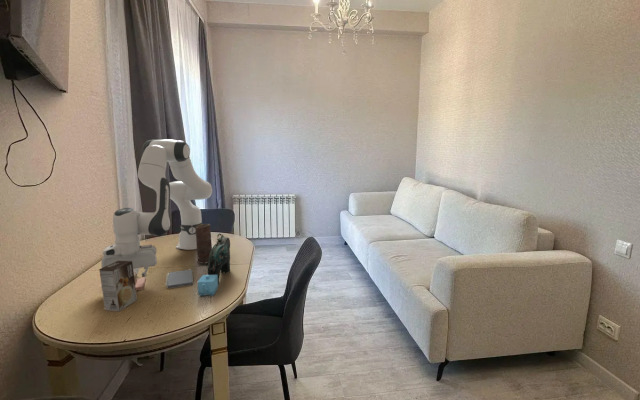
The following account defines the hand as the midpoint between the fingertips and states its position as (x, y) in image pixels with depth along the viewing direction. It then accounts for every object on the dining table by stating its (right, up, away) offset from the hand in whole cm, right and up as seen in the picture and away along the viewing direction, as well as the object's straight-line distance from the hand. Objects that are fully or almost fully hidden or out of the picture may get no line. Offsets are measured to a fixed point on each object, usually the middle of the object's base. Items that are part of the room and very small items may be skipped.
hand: (131, 278), depth 140 cm
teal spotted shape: (+35, -2, +9) cm, 37 cm away
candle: (+22, +1, +28) cm, 35 cm away
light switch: (+1, -3, 0) cm, 4 cm away
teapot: (+35, -5, -7) cm, 36 cm away
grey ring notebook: (+17, -2, +7) cm, 19 cm away
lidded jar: (-8, -2, +10) cm, 13 cm away
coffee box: (+5, -7, -16) cm, 18 cm away
